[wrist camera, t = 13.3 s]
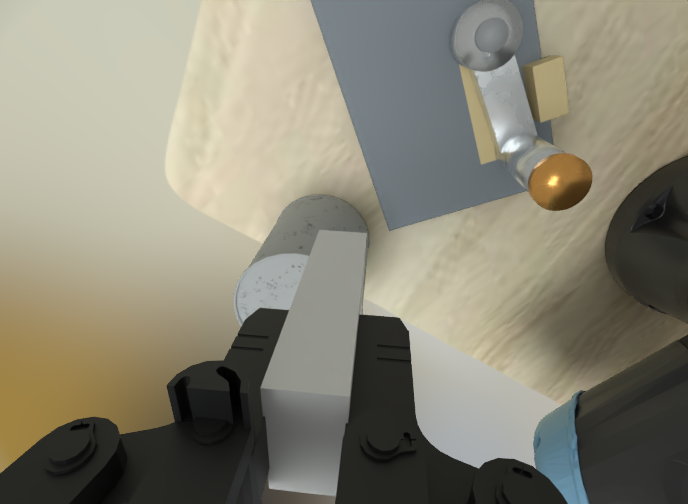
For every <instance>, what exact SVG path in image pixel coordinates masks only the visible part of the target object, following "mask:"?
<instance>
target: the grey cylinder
mask: <svg viewBox="0 0 688 504" xmlns="http://www.w3.org/2000/svg"><path fill="white" fill-rule="evenodd" d="M319 230H330V231H345V232H360V233H367V238H366V254H365V269H364V284H365V274H366V263H367V253H368V248H369V233H368V230H367V227H366V224H365V222H364V220H363V219H362V217H361V215H360V214H359V213H358V212H357V211H356V210H355V209H354V208H353V207H352V206H351V205H349V204H348V203H346V202H345V201H343V200H340V199H338V198H335V197H333V196H327V195H310V196H306V197H302V198H300V199H298V200H296V201H294V202H292V203H291V204H290V205H289V206H287V207H286V208H285V209H284V210H283V212H282V213H281V215H280V216H279V218H278V221H277V223H276V225H275V226H274V228H273V229H272V231H271V232H270V234H269V236H268V237H267V239H266V240H265V242H264V244H263V245H262V247H261V248H260V250H259V251H258V253H257V255H256V256H255V258H254V259H253V261H252V263H251V264H250V266H249V267H248V268H247V269H246V270H245V271H244V273H243V275H242V276H241V278H240V279H239V281H238V282H237V286H236V288H235V292H234V310H235V314H236V318H237V320H238V322H239V324H240V326H241V327H242V325H243V323H244V321H245V319H246V318H247V317H249V316H250V315H251V314H252V313H254V312H255V311H256V310H257V309H259V308H270V309H283V310H290V307H291V304H292V301H293V299H294V296H295V293H296V291H297V288H298V285H299V283H300V280H301V277H302V275H303V272H304V269H305V267H306V264H307V261H308V258H309V256H310V253H311V250H312V248H313V245H314V242H315V240H316V237H317V234H318V232H319ZM363 295H364V285H363ZM362 306H363V301H362ZM361 315H363V309H362V313H361Z"/></svg>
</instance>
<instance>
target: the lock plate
mask: <svg viewBox="0 0 688 504" xmlns="http://www.w3.org/2000/svg"><path fill="white" fill-rule="evenodd" d="M479 1H481V0H311V3H312V6H313V9H314V12H315V15H316V18H317V21H318V23H319V26H320V29H321V32H322V35H323V38H324V41H325V44H326V47H327V50H328V53H329V56H330V59H331V62H332V64H333V67H334V70H335V73H336V76H337V79H338V82H339V85H340V88H341V91H342V94H343V97H344V100H345V103H346V105H347V108H348V111H349V114H350V117H351V120H352V123H353V126H354V129H355V132H356V135H357V138H358V141H359V144H360V146H361V149H362V152H363V155H364V158H365V161H366V164H367V167H368V170H369V173H370V176H371V179H372V182H373V185H374V187H375V190H376V193H377V196H378V199H379V202H380V205H381V208H382V211H383V214H384V217H385V220H386V223H387V226H388V228H389V231H390V230H394V229H397V228H401V227H404V226H407V225H411V224H414V223H418V222H421V221H425V220H428V219H431V218H435V217H438V216H442V215H445V214H449V213H452V212H456V211H459V210H462V209H466V208H469V207H473V206H476V205H480V204H483V203H486V202H490V201H493V200H497V199H500V198H504V197H507V196H511V195H514V194H517V193H521V192H524V191H527V190H526V189H525V188H524V187H523V186H522V185H521V184H520V183H519V182H518V181H517V180H516V179H515V178H514V177H513V176H512V175H511V174H510V173H509V172H508V171H507V170H506V169H505V168H504V167H503V166H502V165H501V164H500V163H499V162H498V161H497V159H496V157H495V146H494V143H493V140H492V137H491V134H490V131H489V128H488V125H487V122H486V119H485V116H484V113H483V110H482V107H481V104H480V101H479V98H478V95H477V92H476V89H475V86H474V83H473V80H472V76H471V73H470V70H469V69H467V68H465V67H463V66H461V65H460V64H459V63H458V62H457V61H456V60H455V59H454V57H453V55H452V53H451V49H450V33H451V29H452V26H453V24H454V22H455V21H456V19H457V18H458V16H459V15H460V14H461V13H462V12H463V11H464V10H465V9H466V8H468V7H470V6H471V5H473V4H475V3H477V2H479ZM507 1H509V2H511V3H512V4H513V5H514V6H515V7H516V8H517V9H518V11H519V13H520V15H521V18H522V22H523V35H522V40H521V43H520V46H519V48H518V50H517V51H516V53H515V58H516V61H517V65H518V68H519V72H520V75H521V79H522V82H523V86H524V89H525V93H526V96H527V100H528V103H529V107H530V110H531V114H532V117H533V121H534V124H535V128H536V132H537V135H538V137H539V138H541V139H543V140H545V141H546V142H548V143H550V144H552V145H553V138H552V131H551V123H550V120H551V119H554V118H557V117H560V116H563V115H566V114H569V105H568V97H567V88H566V80H565V72H564V63H563V56H548V57H545V58H543V59H541V51H540V44H539V37H538V30H537V22H536V15H535V8H534V1H533V0H507ZM508 36H509V29H508V26H507V24H506V22H505V21H504V20H502V19H500V18H490V19H487V20H485V21H483V22H482V23H481V24H480V25H479V26H478V28H477V30H476V32H475V37H474V40H475V44H476V46H477V48H478V49H479V50H480V51H482V52H486V53H492V52H496V51H498V50H500V49H501V48H502V47H503V46H504V45H505V43H506V42H507V39H508ZM553 146H554V145H553Z"/></svg>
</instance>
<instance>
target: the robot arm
mask: <svg viewBox="0 0 688 504" xmlns="http://www.w3.org/2000/svg"><path fill="white" fill-rule="evenodd" d="M366 238H367V233H360V232H345V231H330V230H319V232H318V234H317V237H316V240H315V242H314V245H313V248H312V250H311V253H310V256H309V258H308V261H307V264H306V267H305V269H304V272H303V275H302V277H301V280H300V283H299V285H298V288H297V291H296V293H295V296H294V299H293V301H292V304H291V307H290V310H283V309H270V308H259V309H257V310H256V311H255V312H254V313H252V314H251V315H250V316H249V317H247V318H246V319H245V321H244V323H243V325H242V327H241V329H240V331H239V332H238V336H237V337H236V338H235V340H234V342H233V344H232V346H231V349H229V351H228V353H227V355H226V357H225V359H224V361H206V362H202V363H200V364H196V365H193V366H190V367H188V368H187V369H185V370H183V371H182V372H180V373H178V374H177V375H176V376H175V377H174V378H173V379H172V380H171V381H170V382H169V383H168V385H167V389H168V394H169V398H170V402H171V407H172V411H173V415H174V419H175V422H174V423H171V424H169V425H166V426H162V427H159V428H154V429H149V430H143V431H138V432H132V433H126V434H121V435H120V434H119V431H118V428H117V425H115V424H114V423H112V422H111V421H110V420H109V419H105V418H98V417H90V418H83V419H77V420H74V421H72V422H70V423H67V424H65V425H63V426H60V427H58V428H56V429H55V430H54V431H52V432H51V433H49V434H48V435H46V436H45V437H43V438H42V439H41V440H39V441H38V442H37V443H36V444H35V445H33V446H32V447H31V448H30V449H29V450H28V451H26V452H25V453H24V454H23V455H22V456H20V457H19V458H18V459H17V460H16V461H15V462H13V463H12V464H11V465H10V466H9V467H8V468H6V469H5V470H4V471H3V472H1V473H0V504H262V499H261V497H262V494H263V490H264V487H265V483H266V480H267V476H268V480H269V488H270V489H278V490H287V491H295V492H305V493H313V494H322V495H330V496H336V501H335V504H688V335H686V336H685V337H683V338H681V339H679V340H676V341H674V342H673V343H671V344H669V345H668V346H666V347H664V348H662V349H661V350H659V351H657V352H655V353H654V354H652V355H650V356H648V357H647V358H645V359H643V360H641V361H640V362H638V363H636V364H634V365H633V366H631V367H629V368H627V369H626V370H624V371H622V372H620V373H618V374H617V375H615V376H613V377H611V378H609V379H608V380H606V381H604V382H602V383H600V384H598V385H597V386H595V387H593V388H591V389H589V390H587V391H582V390H581V391H579V392H577V393H575V394H574V395H573V397H572V399H571V400H569V401H568V402H566V403H565V404H563V405H562V406H560V407H559V408H557V409H555V410H554V411H553V412H551V413H549V414H548V415H546V416H545V417H544V418H543V419H542V420H541V421H540V422H539V424H538V426H537V428H536V431H535V435H534V443H533V444H534V453H535V457H534V459H535V465H536V469H535V468H534V467H533V466H530V465H528V464H525V463H523V462H520V461H518V460H515V459H503V458H497V459H494V460H491V461H488V462H485V463H484V464H483V465H482V466H481V467H480V468H479V469H478V468H476V467H473V466H471V465H468V464H466V463H463V462H461V461H459V460H456V459H454V458H452V457H450V456H448V455H446V454H444V453H442V452H440V451H439V450H438V449H436V448H435V447H434V446H433V445H432V444H430V443H429V441H428V440H427V439H426V438H425V437H424V435H423V434H422V432H421V430H420V428H419V426H418V424H417V419H416V415H415V402H414V390H413V378H412V365H411V353H410V340H409V331H408V330H407V329H406V327H405V326H404V324H403V323H402V321H401V320H400V318H396V317H384V316H372V315H371V316H370V315H361V313H362V301H363V285H364V269H365V254H366ZM605 255H606V261H607V265H608V268H609V270H610V272H611V274H612V276H613V277H614V279H615V280H616V281H617V282H618V284H619V285H620V286H621V287H622V288H623V289H624V290H625V291H626V292H627V293H628V294H629V295H630V296H632V297H633V298H634V299H635V300H637V301H638V302H640V303H641V304H643V305H645V306H646V307H648V308H651V309H653V310H656V311H658V312H661V313H665V314H669V315H671V316H673V317H675V318H678V319H680V320H682V321H684V322H686V323H688V156H687V157H685V158H682V159H680V160H677V161H675V162H673V163H671V164H669V165H667V166H666V167H664V168H662V169H660V170H659V171H657V172H656V173H654V174H653V175H651V176H650V177H649V178H647V179H646V180H645V181H644V182H642V183H641V184H640V185H639V186H638V187H637V188H636V189H635V190H634V191H633V192H632V193H631V194H630V195H629V196H628V197H627V199H626V200H625V201H624V202H623V204H622V205H621V206H620V208H619V209H618V211H617V213H616V214H615V216H614V218H613V220H612V222H611V225H610V227H609V230H608V233H607V238H606V244H605Z"/></svg>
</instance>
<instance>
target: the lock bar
mask: <svg viewBox="0 0 688 504" xmlns="http://www.w3.org/2000/svg"><path fill="white" fill-rule="evenodd" d="M490 18H500V19H502V20H504V21H505V22H506V24H507V26H508V29H509V36H508V39H507V42H506V43H505V45H504V46H503V47H502V48H501V49H500V50H498V51H496V52H492V53H486V52H482V51H480V50H479V49H478V48H477V46H476V44H475V40H474V37H475V32H476V30H477V28H478V26H479V25H480V24H481V23H482V22H483V21H485V20H487V19H490ZM522 35H523V22H522V18H521V15H520V13H519V11H518V9H517V8H516V7H515V6H514V5H513V4H512V3H511V2H509V1H507V0H481V1H479V2H477V3H475V4H473V5H471V6H470V7H468V8H466V9H465V10H464V11H463V12H462V13H461V14H460V15H459V16H458V18H457V19H456V21H455V22H454V24H453V26H452V29H451V33H450V49H451V53H452V55H453V57H454V59H455V60H456V61H457V62H458V63H459V64H460V65H461V66H463V67H465V68H467V69H469V70H470V73H471V76H472V80H473V83H474V86H475V89H476V92H477V95H478V98H479V101H480V104H481V107H482V110H483V113H484V116H485V119H486V122H487V125H488V128H489V131H490V134H491V137H492V140H493V143H494V146H495V157H496V159H497V161H498V162H499V163H500V164H501V165H502V166H503V167H504V168H505V169H506V170H507V171H508V172H509V173H510V174H511V175H512V176H513V177H514V178H515V179H516V180H517V181H518V182H519V183H520V184H521V185H522V186H523V187H524V188H525V189H526V190H527V191H528V192H529V194H530V195H531V197H532V198H533V200H534V201H535V202H536V203H537V204H539V205H540V206H541V207H543V208H545V209H547V210H552V211H560V210H565V209H568V208H571V207H573V206H574V205H576V204H578V203H579V202H580V201H581V200H582V199H583V198H584V197H585V196H586V195H587V193H588V191H589V189H590V187H591V184H592V172H591V169H590V167H589V166H588V164H587V163H586V162H585V161H583V160H582V159H580V158H578V157H577V156H575V155H572V154H569V153H566V152H564V151H562V150H560V149H559V148H557V147H555V146H553V145H552V144H550V143H548V142H546V141H545V140H543V139H541V138H539V137H538V135H537V132H536V128H535V124H534V121H533V117H532V114H531V110H530V107H529V103H528V100H527V96H526V93H525V89H524V86H523V82H522V79H521V75H520V72H519V68H518V65H517V61H516V58H515V53H516V51H517V50H518V48H519V46H520V43H521V40H522Z"/></svg>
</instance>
